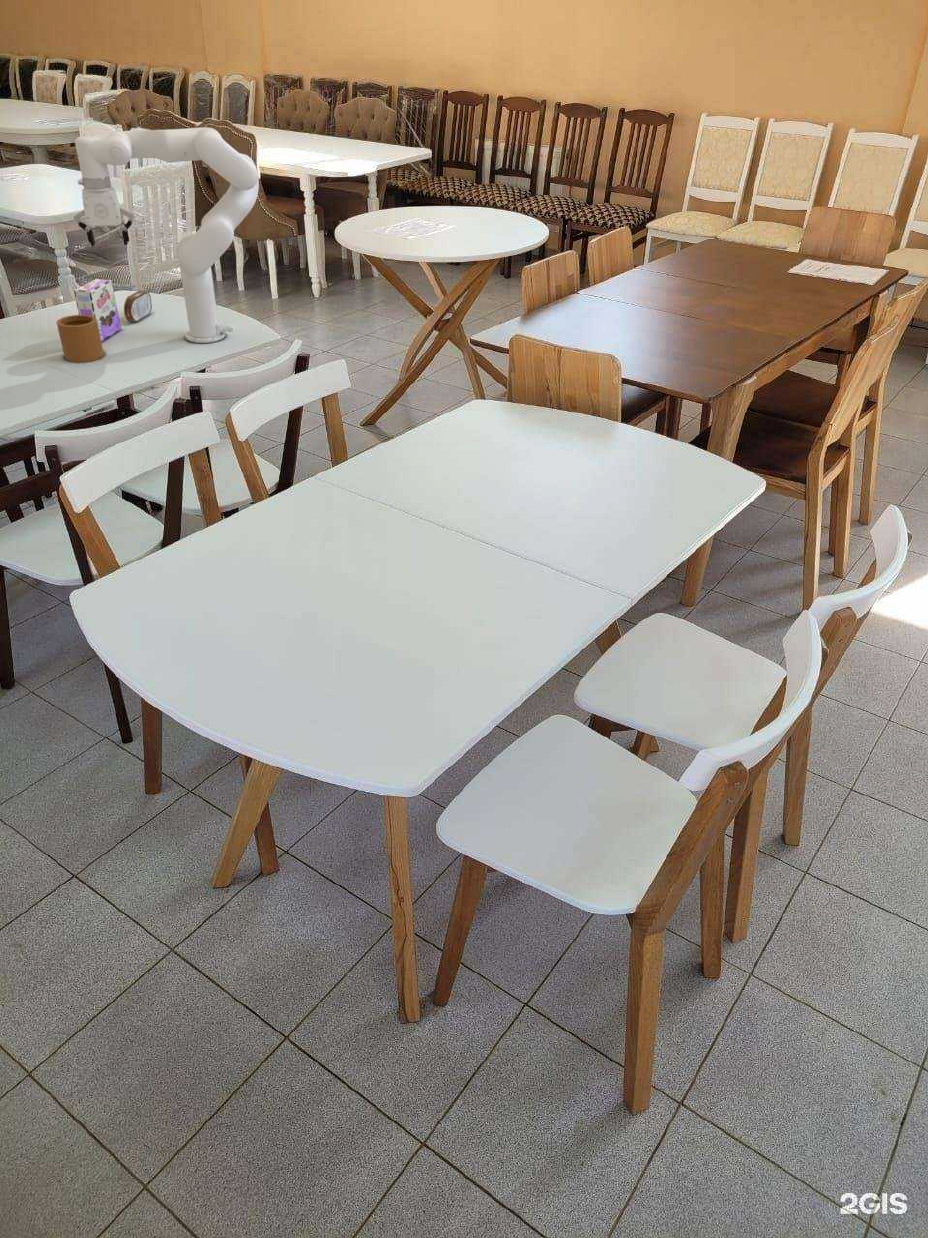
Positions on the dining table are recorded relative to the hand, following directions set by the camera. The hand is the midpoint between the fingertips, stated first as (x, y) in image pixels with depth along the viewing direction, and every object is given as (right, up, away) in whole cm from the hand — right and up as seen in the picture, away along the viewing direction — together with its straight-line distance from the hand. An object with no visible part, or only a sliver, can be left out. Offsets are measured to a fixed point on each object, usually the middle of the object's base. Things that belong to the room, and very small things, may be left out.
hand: (109, 244), depth 278 cm
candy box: (-11, -21, +22) cm, 32 cm away
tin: (-4, -10, +37) cm, 39 cm away
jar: (-10, -32, +6) cm, 34 cm away
